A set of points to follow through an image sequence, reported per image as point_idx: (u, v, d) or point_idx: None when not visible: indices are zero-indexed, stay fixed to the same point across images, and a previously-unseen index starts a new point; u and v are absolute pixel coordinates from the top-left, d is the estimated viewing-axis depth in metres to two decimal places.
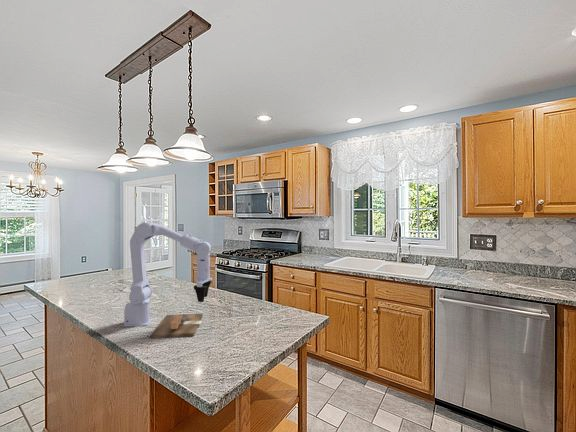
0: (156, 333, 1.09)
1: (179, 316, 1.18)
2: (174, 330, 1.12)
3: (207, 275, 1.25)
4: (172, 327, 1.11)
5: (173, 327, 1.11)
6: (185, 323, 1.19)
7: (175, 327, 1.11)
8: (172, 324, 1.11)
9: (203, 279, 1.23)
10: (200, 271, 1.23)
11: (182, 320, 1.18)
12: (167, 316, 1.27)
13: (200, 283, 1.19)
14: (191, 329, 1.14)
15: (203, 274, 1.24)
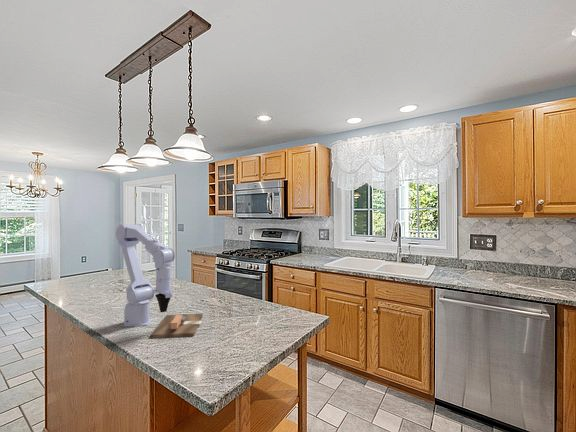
0: (156, 333, 1.09)
1: (179, 316, 1.18)
2: (174, 330, 1.12)
3: None
4: (172, 327, 1.11)
5: (173, 327, 1.11)
6: (185, 323, 1.19)
7: (175, 327, 1.11)
8: (172, 324, 1.11)
9: None
10: None
11: (182, 320, 1.18)
12: (167, 316, 1.27)
13: None
14: (191, 329, 1.14)
15: None
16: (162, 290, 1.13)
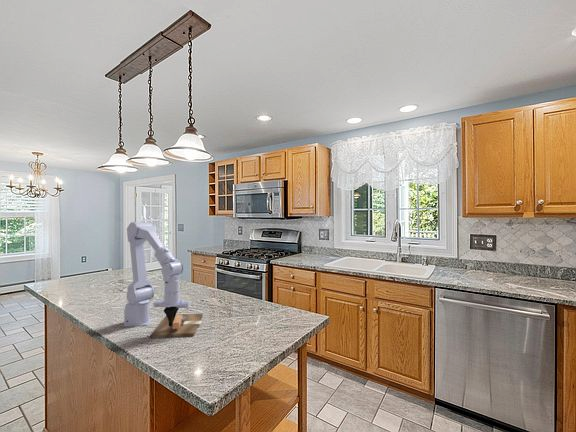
0: (156, 333, 1.09)
1: (179, 316, 1.18)
2: (174, 330, 1.12)
3: (165, 299, 1.11)
4: (174, 327, 1.11)
5: (175, 327, 1.11)
6: (185, 323, 1.19)
7: (177, 327, 1.11)
8: (174, 324, 1.11)
9: (164, 302, 1.13)
10: None
11: (182, 320, 1.18)
12: None
13: None
14: (191, 329, 1.14)
15: None
16: (176, 303, 1.12)
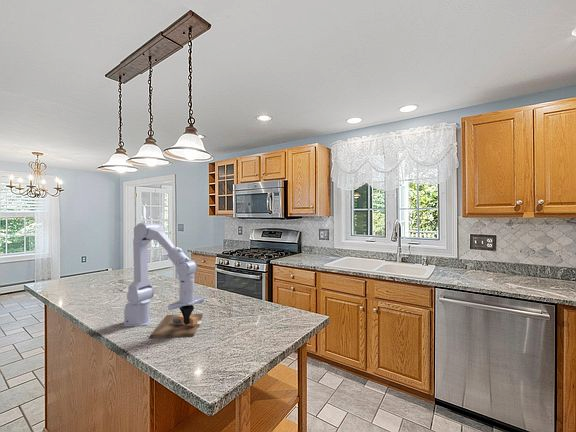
0: (156, 333, 1.09)
1: None
2: (174, 330, 1.12)
3: (185, 298, 1.13)
4: (194, 323, 1.15)
5: (194, 323, 1.16)
6: None
7: (196, 322, 1.16)
8: (194, 320, 1.15)
9: (181, 302, 1.13)
10: (179, 293, 1.14)
11: None
12: (167, 316, 1.27)
13: (169, 306, 1.10)
14: (191, 329, 1.14)
15: (181, 296, 1.13)
16: (194, 300, 1.17)
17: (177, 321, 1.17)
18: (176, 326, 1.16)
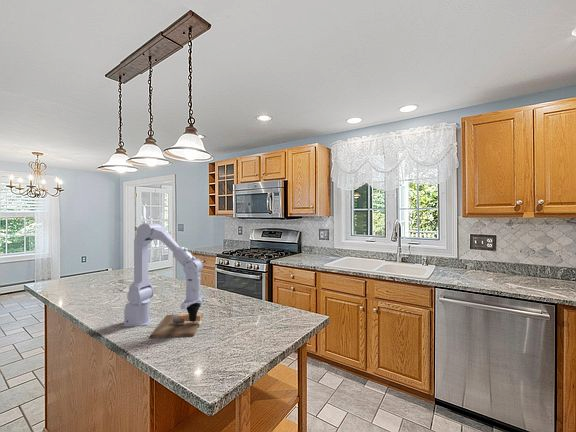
0: (156, 333, 1.09)
1: (184, 314, 1.20)
2: (174, 330, 1.12)
3: (195, 296, 1.16)
4: (200, 319, 1.20)
5: (200, 319, 1.20)
6: (185, 323, 1.19)
7: None
8: (200, 316, 1.20)
9: (191, 300, 1.15)
10: (188, 291, 1.16)
11: None
12: (167, 316, 1.27)
13: (184, 305, 1.11)
14: (191, 329, 1.14)
15: (191, 295, 1.15)
16: None
17: (180, 321, 1.18)
18: (176, 326, 1.16)
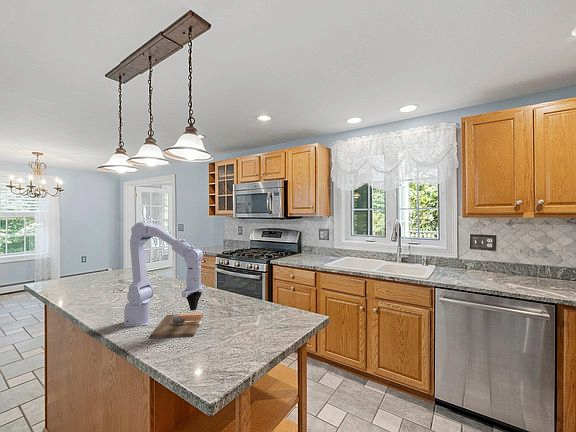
0: (156, 333, 1.09)
1: (184, 314, 1.21)
2: (174, 330, 1.12)
3: (196, 285, 1.16)
4: (201, 318, 1.21)
5: (201, 318, 1.21)
6: (185, 323, 1.19)
7: (201, 317, 1.22)
8: (201, 315, 1.21)
9: (191, 289, 1.16)
10: (188, 280, 1.16)
11: None
12: (167, 316, 1.27)
13: (185, 293, 1.11)
14: (191, 329, 1.14)
15: (191, 283, 1.16)
16: None
17: (181, 320, 1.18)
18: (176, 326, 1.16)
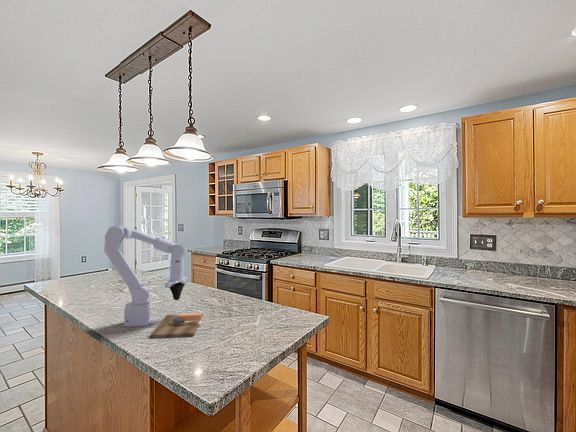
0: (156, 333, 1.09)
1: (184, 314, 1.21)
2: (174, 330, 1.12)
3: (179, 276, 1.27)
4: (201, 318, 1.21)
5: (201, 318, 1.21)
6: (185, 323, 1.19)
7: (201, 317, 1.22)
8: (201, 315, 1.21)
9: (174, 280, 1.26)
10: (172, 272, 1.27)
11: None
12: (167, 316, 1.27)
13: (168, 284, 1.22)
14: (191, 329, 1.14)
15: (174, 275, 1.26)
16: None
17: (181, 320, 1.18)
18: (176, 326, 1.16)
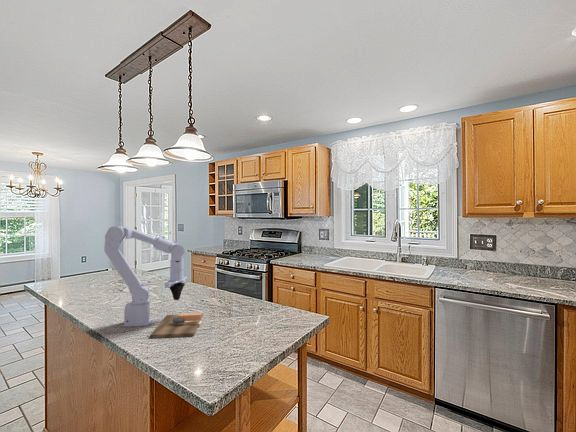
0: (156, 333, 1.09)
1: (184, 314, 1.21)
2: (174, 330, 1.12)
3: (179, 276, 1.27)
4: (201, 318, 1.21)
5: (201, 318, 1.21)
6: (185, 323, 1.19)
7: (201, 317, 1.22)
8: (201, 315, 1.21)
9: (174, 280, 1.26)
10: (172, 272, 1.27)
11: None
12: (167, 316, 1.27)
13: (168, 284, 1.22)
14: (191, 329, 1.14)
15: (174, 275, 1.26)
16: None
17: (181, 320, 1.18)
18: (176, 326, 1.16)
